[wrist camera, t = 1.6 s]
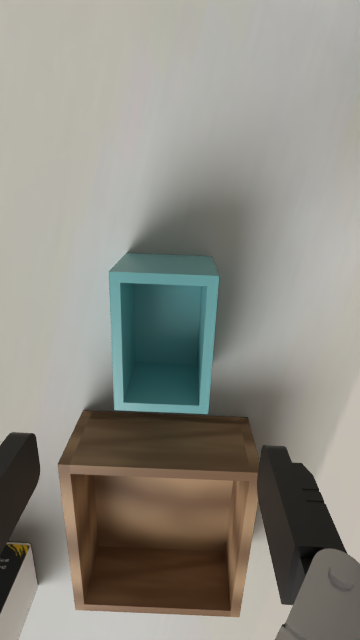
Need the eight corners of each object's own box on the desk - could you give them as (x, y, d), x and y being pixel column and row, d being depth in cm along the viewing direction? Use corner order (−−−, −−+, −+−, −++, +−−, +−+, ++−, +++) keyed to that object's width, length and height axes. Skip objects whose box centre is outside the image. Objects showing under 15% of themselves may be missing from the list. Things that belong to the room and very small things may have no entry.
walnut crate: (83, 410, 29) (57, 464, 23) (247, 417, 29) (262, 473, 23) (93, 541, 34) (75, 609, 29) (230, 547, 34) (239, 617, 29)
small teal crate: (126, 252, 24) (108, 271, 18) (211, 255, 24) (219, 275, 18) (129, 364, 27) (114, 410, 22) (203, 367, 27) (208, 414, 21)
